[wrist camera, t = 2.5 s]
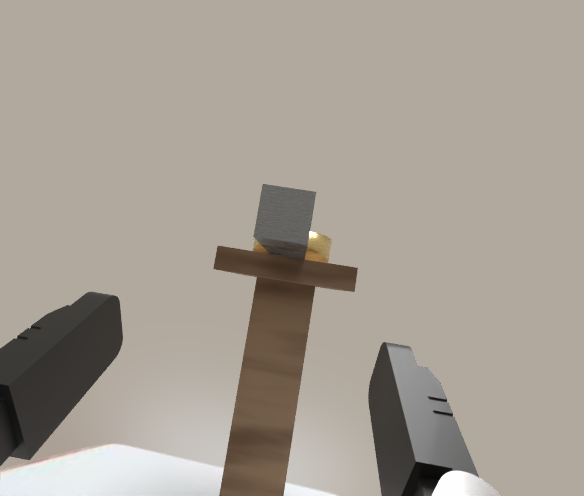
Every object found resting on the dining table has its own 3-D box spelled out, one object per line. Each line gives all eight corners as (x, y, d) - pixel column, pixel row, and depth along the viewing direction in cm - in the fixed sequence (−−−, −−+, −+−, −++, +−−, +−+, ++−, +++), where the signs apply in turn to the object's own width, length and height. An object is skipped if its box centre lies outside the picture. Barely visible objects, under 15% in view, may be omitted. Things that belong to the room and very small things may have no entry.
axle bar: (353, 252, 18) (360, 198, 18) (209, 229, 18) (218, 177, 19) (324, 270, 39) (328, 245, 39) (256, 259, 39) (261, 234, 40)
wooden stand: (297, 697, 25) (357, 267, 28) (139, 664, 25) (217, 245, 28) (298, 548, 38) (338, 273, 42) (196, 529, 39) (244, 258, 42)
